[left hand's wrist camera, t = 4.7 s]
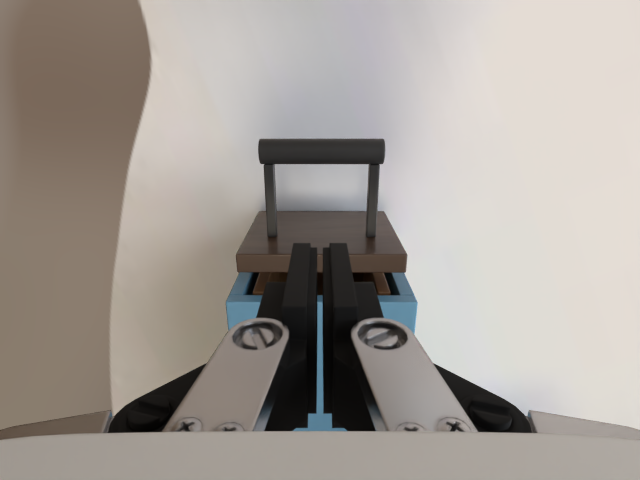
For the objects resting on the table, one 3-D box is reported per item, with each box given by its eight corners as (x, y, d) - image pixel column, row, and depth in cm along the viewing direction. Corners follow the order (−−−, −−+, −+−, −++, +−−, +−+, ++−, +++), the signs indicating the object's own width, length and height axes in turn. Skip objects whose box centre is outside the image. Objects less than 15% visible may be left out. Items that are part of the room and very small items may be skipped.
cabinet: (255, 237, 32) (225, 301, 22) (388, 237, 32) (418, 302, 22) (266, 410, 39) (247, 519, 29) (376, 410, 39) (395, 519, 29)
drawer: (253, 130, 28) (226, 145, 20) (389, 130, 28) (417, 145, 20) (269, 387, 36) (254, 471, 28) (373, 387, 36) (388, 472, 28)
